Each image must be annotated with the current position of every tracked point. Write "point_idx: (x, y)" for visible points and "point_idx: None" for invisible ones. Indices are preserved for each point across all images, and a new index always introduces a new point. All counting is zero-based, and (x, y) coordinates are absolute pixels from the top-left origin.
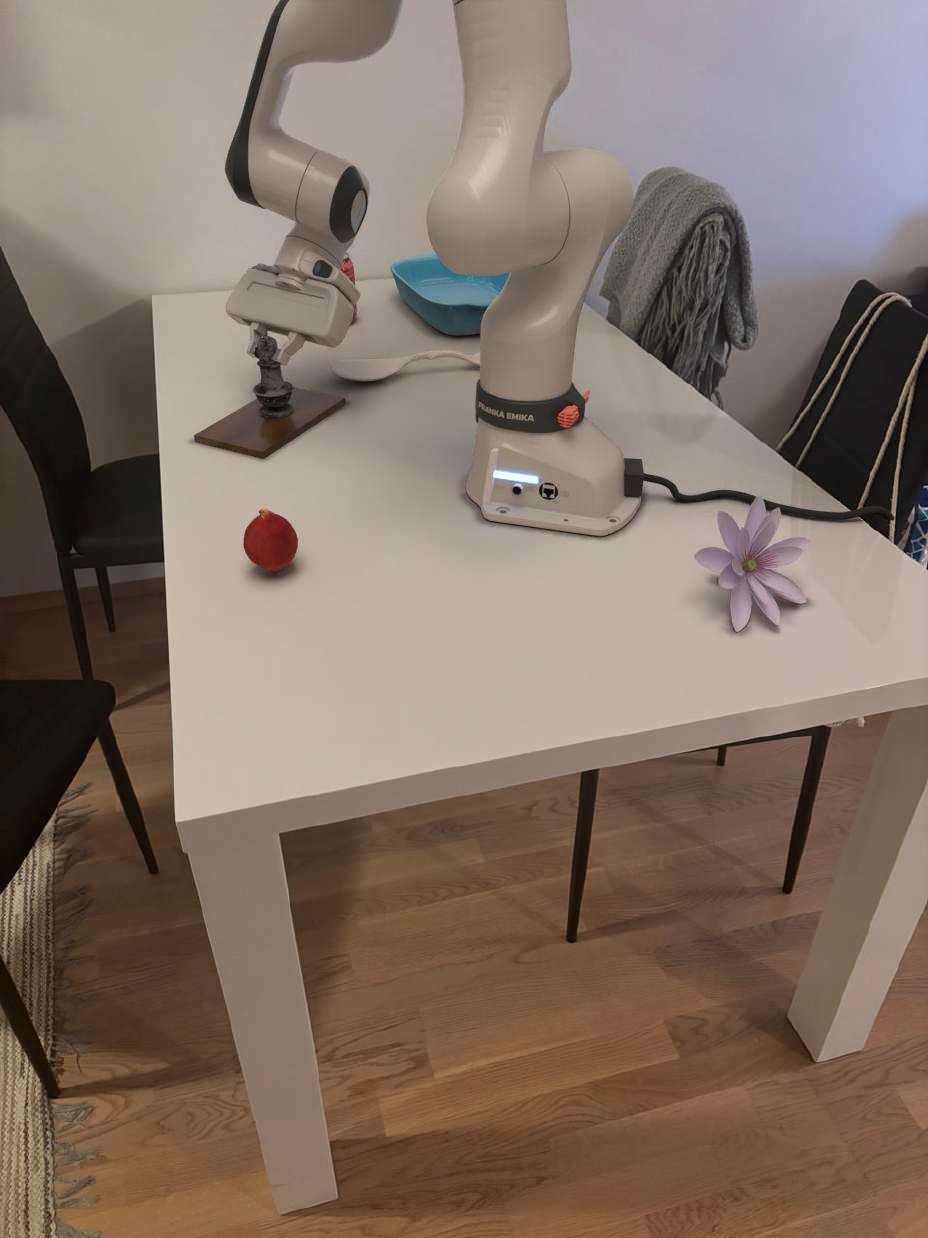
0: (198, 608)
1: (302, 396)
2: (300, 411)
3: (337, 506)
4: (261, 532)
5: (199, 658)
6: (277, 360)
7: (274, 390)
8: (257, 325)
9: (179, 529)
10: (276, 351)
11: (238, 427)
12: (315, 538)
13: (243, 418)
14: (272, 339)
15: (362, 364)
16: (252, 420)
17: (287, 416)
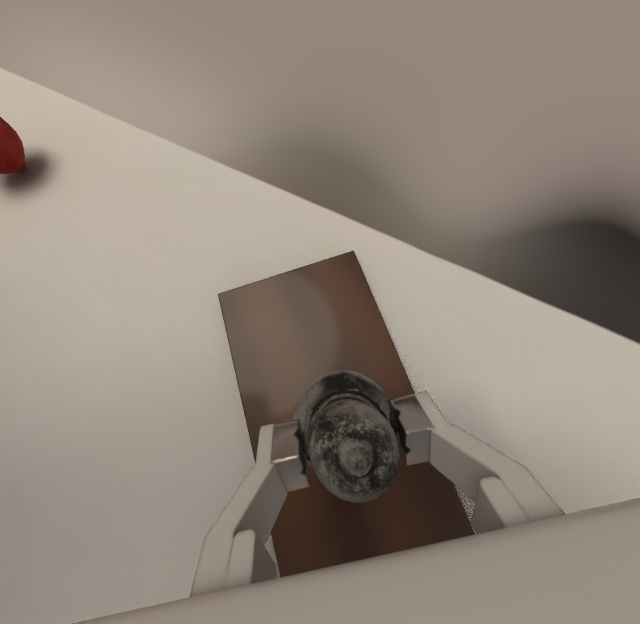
0: (50, 106)
1: (370, 521)
2: None
3: (36, 290)
4: None
5: (6, 84)
6: (274, 423)
7: (311, 404)
8: (502, 508)
9: (166, 145)
10: (290, 444)
11: (326, 317)
12: (18, 229)
13: (355, 345)
14: (327, 471)
15: None
16: (334, 352)
17: None
